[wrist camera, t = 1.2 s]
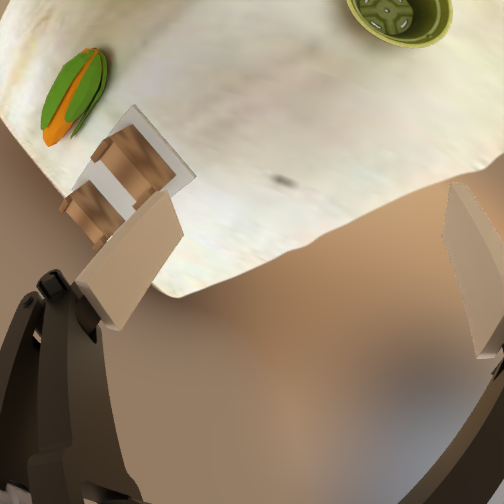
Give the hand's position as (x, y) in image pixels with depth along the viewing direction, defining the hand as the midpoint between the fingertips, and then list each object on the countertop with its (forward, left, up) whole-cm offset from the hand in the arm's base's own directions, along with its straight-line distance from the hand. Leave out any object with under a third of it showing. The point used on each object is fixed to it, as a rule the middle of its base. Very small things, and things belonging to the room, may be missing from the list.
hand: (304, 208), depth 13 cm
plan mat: (-9, -31, -23) cm, 40 cm away
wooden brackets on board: (-9, -31, -23) cm, 40 cm away
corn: (-24, -26, -24) cm, 43 cm away
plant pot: (-7, +13, -24) cm, 28 cm away
